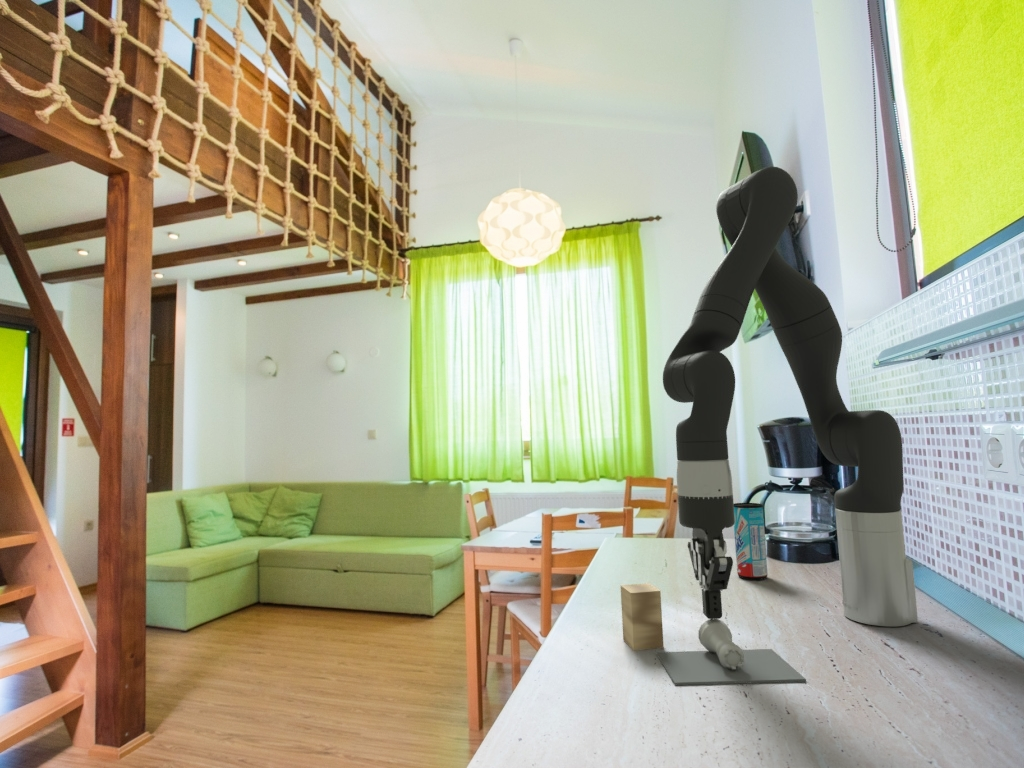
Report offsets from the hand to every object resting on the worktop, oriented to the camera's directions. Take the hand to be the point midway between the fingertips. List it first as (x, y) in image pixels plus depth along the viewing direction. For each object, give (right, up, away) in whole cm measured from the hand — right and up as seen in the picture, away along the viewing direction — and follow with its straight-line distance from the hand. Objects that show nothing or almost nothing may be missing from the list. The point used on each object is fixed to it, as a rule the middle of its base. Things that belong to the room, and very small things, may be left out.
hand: (712, 616), depth 81 cm
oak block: (-9, -6, +5) cm, 11 cm away
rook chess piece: (0, -3, +1) cm, 3 cm away
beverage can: (+22, -8, +40) cm, 46 cm away
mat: (0, -5, -5) cm, 7 cm away
